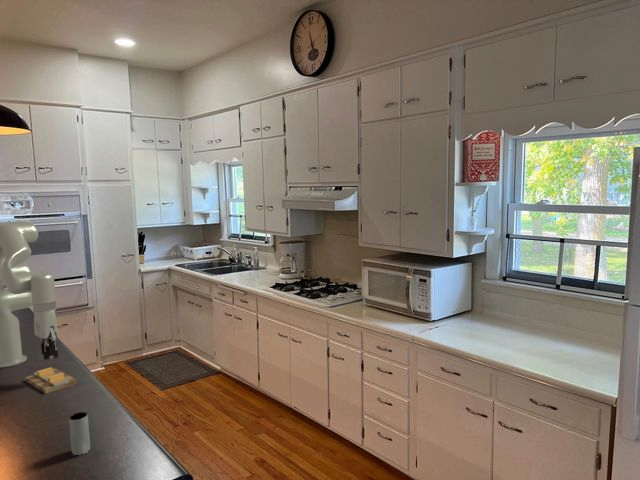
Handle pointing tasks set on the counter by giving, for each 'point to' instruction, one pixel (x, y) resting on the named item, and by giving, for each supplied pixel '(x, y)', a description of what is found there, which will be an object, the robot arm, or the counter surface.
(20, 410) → the counter surface
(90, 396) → the counter surface
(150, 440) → the counter surface
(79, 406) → the counter surface
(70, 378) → the din panel
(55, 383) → the din rail
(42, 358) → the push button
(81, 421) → the planter
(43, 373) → the end stops
